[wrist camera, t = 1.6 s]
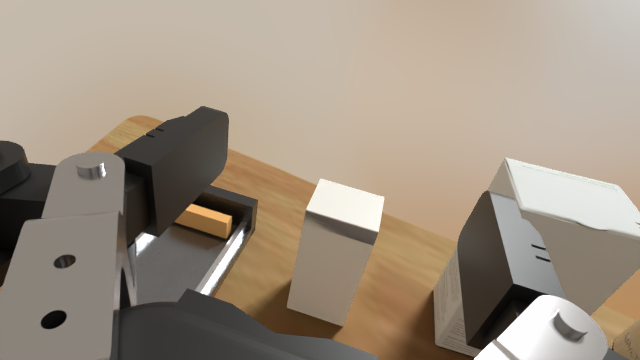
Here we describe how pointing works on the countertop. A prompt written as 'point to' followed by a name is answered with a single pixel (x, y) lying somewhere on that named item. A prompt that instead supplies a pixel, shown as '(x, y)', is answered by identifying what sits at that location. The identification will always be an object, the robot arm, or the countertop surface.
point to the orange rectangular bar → (206, 220)
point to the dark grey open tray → (193, 251)
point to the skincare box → (556, 241)
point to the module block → (334, 250)
